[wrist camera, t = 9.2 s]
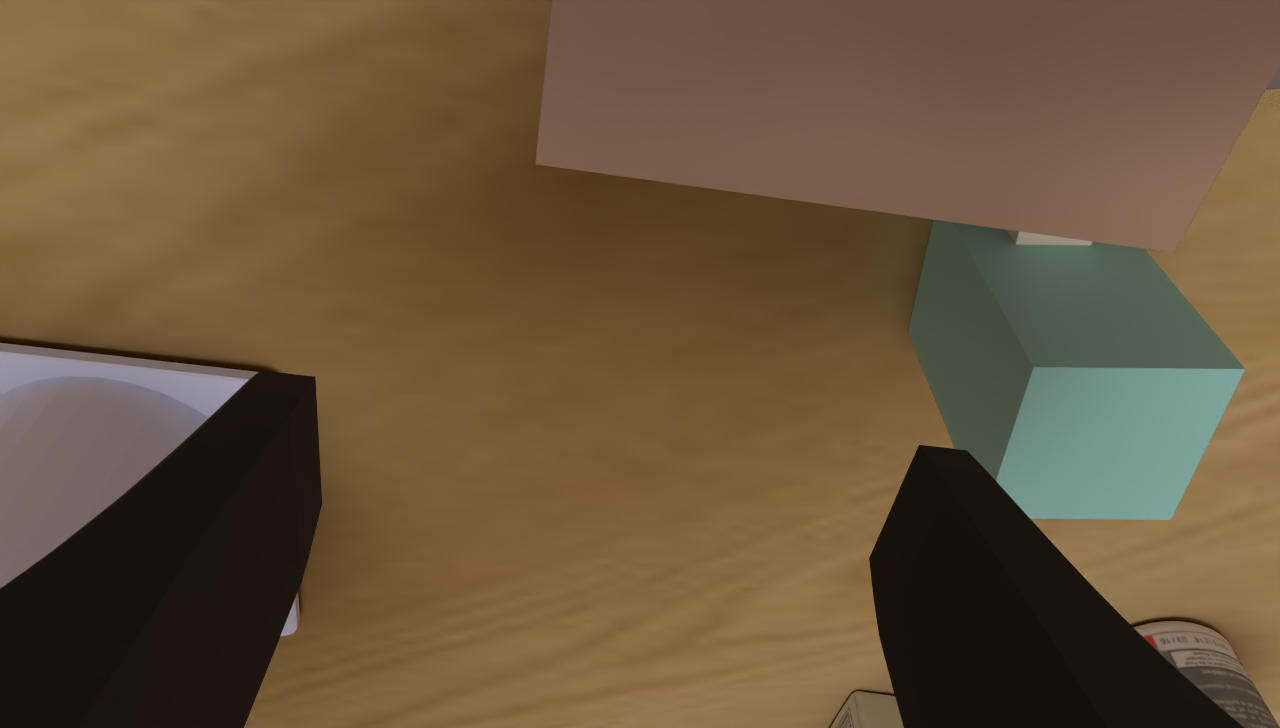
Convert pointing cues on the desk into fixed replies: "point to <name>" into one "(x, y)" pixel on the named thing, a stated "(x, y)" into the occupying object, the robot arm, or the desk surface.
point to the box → (869, 712)
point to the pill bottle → (1210, 669)
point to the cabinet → (918, 104)
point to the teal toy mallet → (1069, 370)
